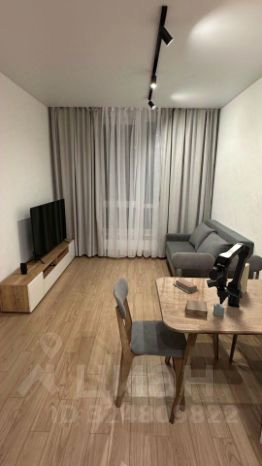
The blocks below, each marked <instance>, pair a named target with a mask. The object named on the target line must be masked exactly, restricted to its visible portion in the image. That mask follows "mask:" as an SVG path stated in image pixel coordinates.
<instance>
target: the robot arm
mask: <svg viewBox="0 0 262 466" xmlns="http://www.w3.org/2000/svg"><path fill="white" fill-rule="evenodd" d="M253 252H254V250H253V248H252V247H251V246H248V245H246V244H245V243H241V242H236V243H235V244H234V246H232V247H231V248H230V249H229V250H228V251H226V252H221V253H220V254H218V255H217V257H216V258H215V260H214V263H213V266H212V267H213V268H212V269H211V270H210V271H208V278H209V279H207V280H206V285H207V288H209V289H210V288H214V287H215V289H216V296H217V298H218V299H219V303H220V304H224V302H225V301H226V299H227V301H226V303H227V304H228V306H229V307H234V308H240V307H241V306H240V302H241V301H240V300H241V299H242V298H243V296H244V294H243V293H242V291H241V288H242V287H241V283H240V282H241V278H242V275H243V271H244V268H245V264H246V263H247V261H248V260H250V258H252V255H253ZM235 257H237V258H238V259H237V263H236V266H235V270H234V273H233V275H232V280H231V281H229V280H228V279H229V278H228V277H229V276H228V275H229V269H230V268H231V264H232V263H233V259H234V258H235Z"/></svg>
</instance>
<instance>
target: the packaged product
mask: <svg viewBox="0 0 262 466" xmlns="http://www.w3.org/2000/svg"><path fill="white" fill-rule="evenodd" d="M172 285H174V286H176V287H177V288H178V289H180V290H183V291H185V292H186V293H188V294H191V293H195V292H197V291H198V292H199V288H198V286H197V285H196V284H194V283H192V282H190V281H188V280H186V279H185V278H182V277H181V278H178V279H176V280H175V282H173V283H172Z"/></svg>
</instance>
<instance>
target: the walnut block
mask: <svg viewBox="0 0 262 466" xmlns="http://www.w3.org/2000/svg"><path fill="white" fill-rule="evenodd" d="M185 305H186V310H185V311H186V315H189V316H196V317H204V318H208V314H209V312H208V306H207V301H203V300H201V301H200V300H194V299H193V300H192V299H186V304H185Z"/></svg>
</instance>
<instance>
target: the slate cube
mask: <svg viewBox="0 0 262 466" xmlns="http://www.w3.org/2000/svg"><path fill="white" fill-rule="evenodd" d="M225 308H226V307H225V304H224V303H223V304H220V302H213V310H212V311H213V315H214V316H218V317H219V316H220V317H225V311H226V309H225Z"/></svg>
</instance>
